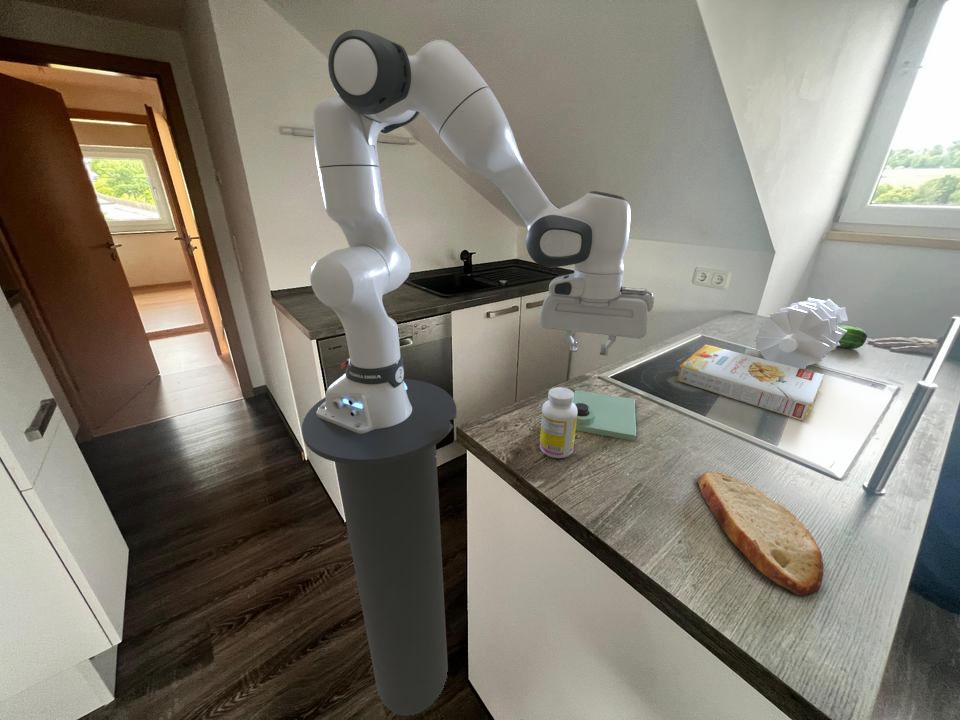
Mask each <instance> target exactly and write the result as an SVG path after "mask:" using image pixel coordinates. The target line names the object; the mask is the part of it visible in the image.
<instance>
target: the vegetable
mask: <svg viewBox="0 0 960 720" xmlns="http://www.w3.org/2000/svg"><path fill="white" fill-rule="evenodd" d="M838 327H839V328H841V329H844V330H846V331H847V332H846V333H845V334H844V335H843V336H842V338H841V339H840V340H839V341H838V342H839V344H840V345H839V346H836V348H839V349H849V350H855V349H859V348H861V347H863V345H865V343H866V341H867V339H868V333H867V332H866V331H865V330H864V329H862V328H860V327H856V326H851V325H838Z"/></svg>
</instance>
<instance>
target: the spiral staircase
mask: <svg viewBox="0 0 960 720" xmlns="http://www.w3.org/2000/svg"><path fill="white" fill-rule="evenodd" d="M789 304H790V305H789V306H788V307H780V308H779V312H772V313H771V312H770V313H769V318H767V319H766V320H764V321H763V322H761V323H760V324H759V325H757V327H758V328H759V330H758V332H757V334H756V337H755V339H754V342H755V350H756V351H759V352H760V354H761V355H762V357H763V359H765V360H769V361H773V362H777V363H781V364H785V365H788V366H792V367H796V368H800V369H804V370H807V369H806V368H807V367H808V366H811V365H814V364H817V363H820V362H822V361H823V360H822V359H824V358H827V355H826V353H828V352H831V351H833V350H836V349H837V347H836V346H839V345H840V344H839V342H838V341H839V340H840V339H841V338H842V336H843V335H844V334H845V333H846V332H847V331H846V330H844V329H841V328H839V327H838V326H839V325H840V324H843V322H848V321H849V318H848V317H849V316H848V313H847V309H846V307H839V305H837V304H836V303H835V302H833V300H831V299H830V298H828V299H826V300H821V299H816V298H812V297H808V298H807V300H804V301H798V302H793V303H789Z"/></svg>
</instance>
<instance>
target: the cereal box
mask: <svg viewBox="0 0 960 720" xmlns="http://www.w3.org/2000/svg"><path fill="white" fill-rule="evenodd" d="M824 377H825V375H824V373H819V372H817V371H811V370H807V369H805V370H804V369H800V368H796V367H792V366H788V365H785V364H781V363H777V362H773V361H769V360H765V358H762V357H761V358H760V357H758V356H757V357H756V356H753V355H749V354H745V353H741V352H738V351H733V350H729V349H726V348H721V347H718V346H714V345H710V344H706V343H705V344H704V345H703V346H701V347H700V348H699V349H698V350H696V351H695V352H694V353H693V354H692V355H690V357H689V358H687V359H686V360H685V361H684V362H682V363H681V364H680V366H679V371H678V375H677V380H676V381H677V382H679V383H683V384H686V385H689V386H692V387H694V388H699V389H702V390H705V391H708V392H712V393H713V394H717V395H720V396H723V397H727V398H729V399H733V400H736V401H739V402H742V403H745V404H749V405H752V406H755V407H758V408H761V409H764V410H767V411H770V412H774V413H777V414H780V415H783V416H786V417H788V418H789V417H790V418H792V419H796V420H799V421H802V422H805V421H806V419H807V417H808V415H809V414H810V411H811V410H812V407H814V404H815V402H816V400H817V397H818V395H819V392H820V389H821V386H822V383H823V380H824Z"/></svg>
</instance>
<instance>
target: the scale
mask: <svg viewBox="0 0 960 720" xmlns="http://www.w3.org/2000/svg"><path fill="white" fill-rule="evenodd" d="M573 393H574V400H573V403H574V404H577V403H583V404H586V405H588V407H589V409H588V415H587V416H577V421H576V430H575V431H578V432H582V433H583V432H584V433H588V434H593V435H594V434H595V435H599V436H604V437H609V438H616V439H620V440H621V439H622V440H627V441H631V442H635V441H636V438H637V429H636V428H637V426H636V424H637V423H636V404H635V403H636V402H635V398H629V397H625V396H624V397H623V396H616V395H611V394H602V393H597V392H591V391H584V390H578V389H575V390H574V392H573Z"/></svg>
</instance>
